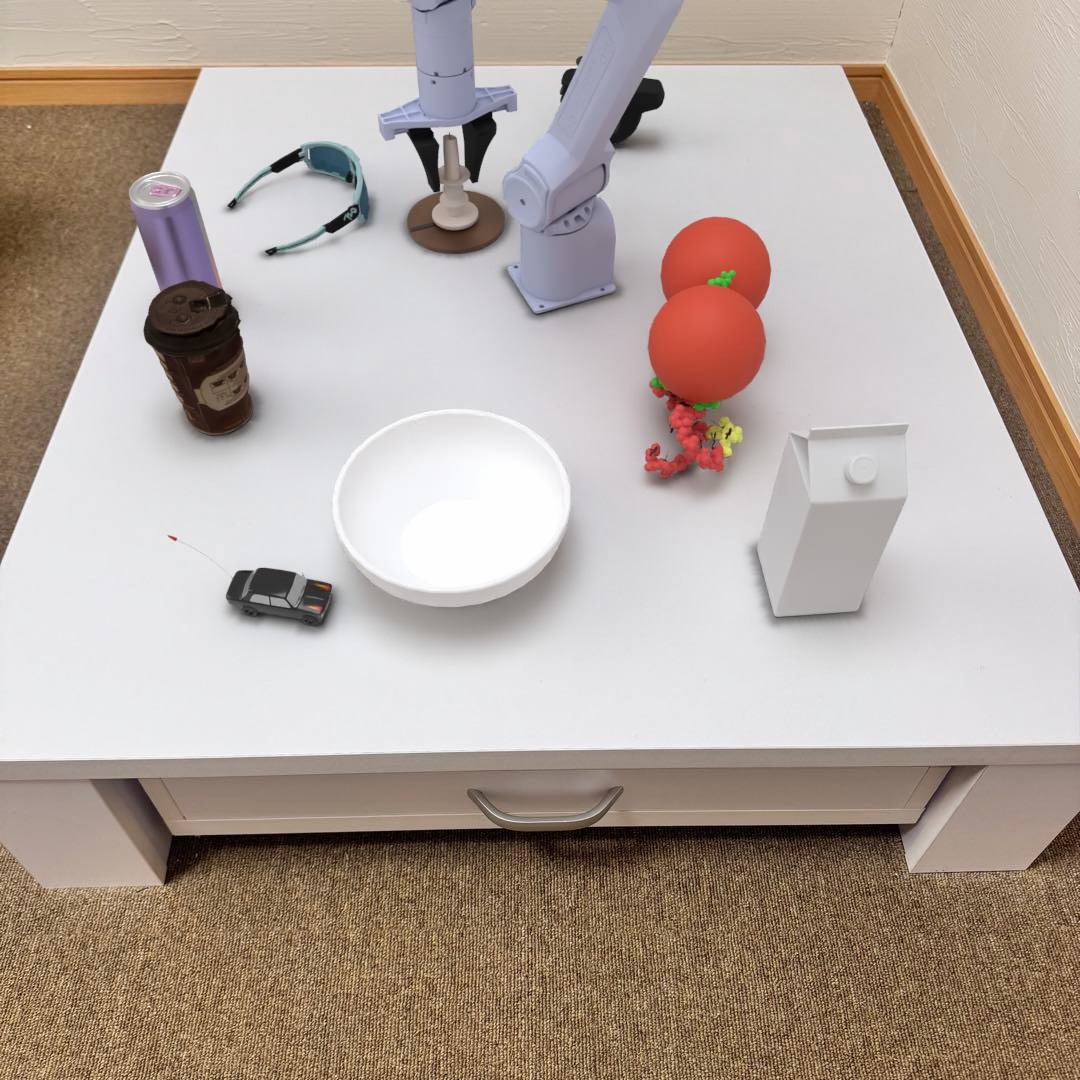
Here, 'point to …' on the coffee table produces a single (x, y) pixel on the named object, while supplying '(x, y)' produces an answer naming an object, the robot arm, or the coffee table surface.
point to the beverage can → (172, 229)
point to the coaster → (456, 240)
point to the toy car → (278, 594)
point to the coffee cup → (201, 354)
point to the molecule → (707, 334)
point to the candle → (453, 191)
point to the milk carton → (832, 516)
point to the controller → (642, 101)
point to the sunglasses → (325, 161)
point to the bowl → (452, 507)
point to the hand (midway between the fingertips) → (453, 182)
